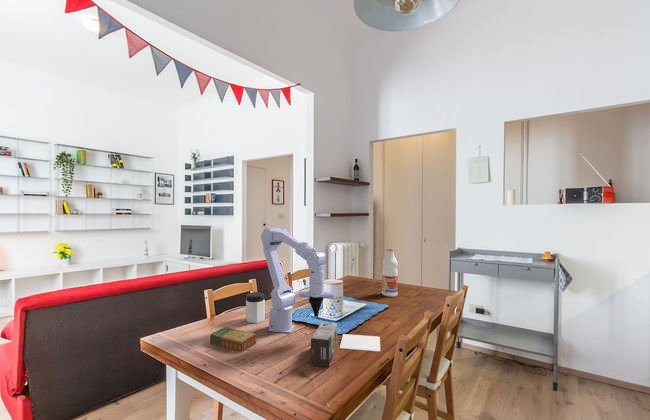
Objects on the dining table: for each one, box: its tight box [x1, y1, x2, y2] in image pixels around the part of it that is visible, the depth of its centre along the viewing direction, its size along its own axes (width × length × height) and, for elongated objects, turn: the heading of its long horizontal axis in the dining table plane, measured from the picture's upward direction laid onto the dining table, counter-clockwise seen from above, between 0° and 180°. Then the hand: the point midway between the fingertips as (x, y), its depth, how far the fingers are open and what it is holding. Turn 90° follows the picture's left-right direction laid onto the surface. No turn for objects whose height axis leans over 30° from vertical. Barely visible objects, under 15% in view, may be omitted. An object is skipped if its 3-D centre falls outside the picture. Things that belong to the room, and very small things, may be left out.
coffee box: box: [310, 321, 338, 368], centre depth 112 cm, size 9×6×16 cm
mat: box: [339, 333, 381, 353], centre depth 123 cm, size 15×13×1 cm
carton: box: [209, 326, 257, 353], centre depth 121 cm, size 8×16×4 cm, turn 65°
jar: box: [245, 291, 266, 324], centre depth 146 cm, size 9×8×12 cm
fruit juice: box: [381, 247, 399, 297], centre depth 191 cm, size 9×9×28 cm
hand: (316, 315), depth 126 cm, fingers closed
